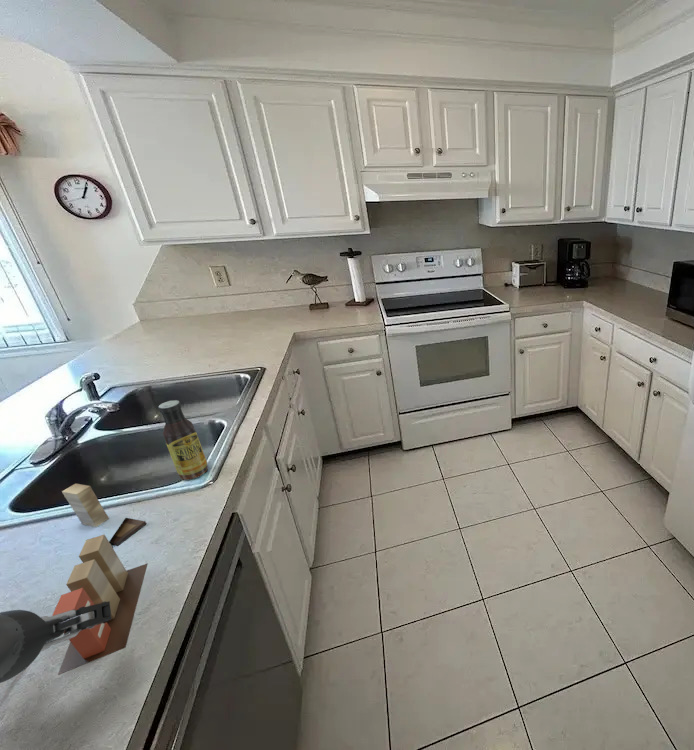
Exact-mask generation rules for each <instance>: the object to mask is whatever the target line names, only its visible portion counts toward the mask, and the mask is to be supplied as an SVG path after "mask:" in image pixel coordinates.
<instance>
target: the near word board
mask: <svg viewBox="0 0 694 750" xmlns="http://www.w3.org/2000/svg"><path fill="white" fill-rule="evenodd" d="M109 541H110V540H109V539H108V538H107V536H106V535H105V534H101V535H98V536H95V537H91V538H89V539H86V540H85V542H84V544H83V546H82V548H81V551H80V553H79V555H78V558H79V560H80V561H81V563H79V564H78V563H77V564H75V565H73V568H72V571H71V572H70V575H69V577H68V579H67V581H66V584H65V585H66V586H67V588H68V589H69V592H72V591H75V590H78V589H81V588H83V589H84V590H85V592H86V593H87V595H88V596H89V597H90V599H91V600H92V602H93V603H94V605H95V604H100V603H102V602H105V601H106V602H108V601H110V609H111V618H112V619H111V620H109V621H108V622H107V623H108V625H109V626H110V628H111V631H110V634H109V638H108V641H107V644H106V647H105V651H102V652H100V653H98V654H95V655H93V656H90V657H88V658H85V659H83V657H82V656H81V655H80V653H79V652H78V651H77V650H76V648H75V647H74V646H73V644H72V643H71V642H70V641H69V644H68V646H67V647H68V648H67V649H66V652H65V655H64V657H63V660H62V662H61V665H60V667H59V670H58V673H57V676H60V675H62V674H64V673H67V672H69V671H72V670H74V669H76V668H79V667H82V666H84V665H86V664H89V663H91V662H94V661H96V660H100V659H102V658H104V657H106V656H109V655H111V654H114V653H116V652H118V651H121V650H123V649H126V648H127V644H128V641H129V636H130V632H131V629H132V625H133V621H134V617H135V613H136V610H137V606H138V602H139V599H140V594H141V591H142V586H143V582H144V580H145V576H146V571H147V568H148V563H145V564H142V565H138V566H135V567H133V568H130V569H126V567H125V566H124V564H123V563H122V560H121V559H120V557H119V556H118V554H117V552H116V551H115V549H114V548H113V545H112V544H110V543H109Z"/></svg>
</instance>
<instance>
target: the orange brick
mask: <svg viewBox="0 0 694 750" xmlns="http://www.w3.org/2000/svg"><path fill="white" fill-rule="evenodd" d="M91 605H94V603H93V602H92V600H91V599H90V597H89V596H88V595H87V593H86V592H85V590H84V589H83V588H81V589H78V590H75V591H72V592H71V591H69V592H66V593H63V594H61V595H60V597H59V599H58V602H57V604H56V606H55V609H54V610H53V612H52V615H51V616H54V615H57V614H60V613H64V612H67V611H70V610H78V609H79V608H81V607H84V606H85V607H87V606H91ZM110 631H111V628H110V626H109V625H108V623H107V622H106V623H102V624H99V625H96V626H94V628H91V629H89V628H88V629H85V630H82V631H79V633H78V635H77V636H75V637H73V638H71V639H68V641H69V643H70V642H71V643H72V644H73V646H74V647H75V648H76V650H77V651H78V652H79V653H80V655H81V656H82V657H83V659H85V658H88V657H90V656H93V655H95V654H98V653H100V652H102V651H105V647H106V644H107V641H108V638H109V634H110Z"/></svg>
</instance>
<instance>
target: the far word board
mask: <svg viewBox="0 0 694 750" xmlns="http://www.w3.org/2000/svg"><path fill="white" fill-rule="evenodd" d="M61 493H62V495H63V496H64V498H65V499H66V501H67V502H68V504H69V506H70V507H71V510H73V513H74V514H75V515H76V517H77V519H78V520H79V521H80V524H81V525H84V526H88V527H92V528H93V527H94V528H98V527H99V526H100V525H102V524H103V523H105V522H107V521H108V520H110V517H109V516H108V514H107V512H106V511H105V509H104V508H103V506H102V504H101V502H100V501H99V499H98V497H97V495H96V494H95V492H94V490H93V488H92V486H91V485H87V484H80V483H74V484H72V485H70V486H69V487H67V488H65V489H64V490H61ZM146 525H147V522H146V521H145V520H141V519H135V518H130V517H125V518H124V519H123V520H122V522H121V524H120V525H119V527H117V529H116V531H115V532H114V534H113V535H112V537H111V538H110V540H108V541H109V543H110V544H111V546H117V547H118V546H120V545H121V544H122V543H124V542H126V540H128V539H129V538H130V537H132V536H133V535H134V534H136V532H138V531H139V530H141V529H142V528H143V527H145V526H146Z"/></svg>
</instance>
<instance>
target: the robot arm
mask: <svg viewBox="0 0 694 750" xmlns="http://www.w3.org/2000/svg"><path fill="white" fill-rule="evenodd" d="M111 619H112V618H111V609H110V601H108V602H106V601H105V602H102V603H100V604H95V605H91V606H87V607H85V606H84V607H81V608H79V609H78V610H70V611H67V612H64V613H60V614H57V615H54V616H52V615H50V616H48V615H44V616H39V615H38V614H36V613H35V612H33V611H29V610H25V609H13V610H12V609H11V610H6V611H0V684H1V683H5V682H7V681H9V680H11V679H13V678H15V677H16V676H17V675H19V674H21V673H22V672H24V671H25V670H26V669H27V668H28V667H29V666H31V665H32V663H34V662H35V660H36V659H37V658H38V656H39V655H40V653H41V652H43V651H45V650H48V649H50V648H51V647H52V646H54V645H57V644H59V643H63V642H65V641H69V639H71V638H73V637H75V636H77V635H78V633H79V631H82V630H85V629H88V628H89V629H91V628H94V626H96V625H99V624H102V623H106V622H108V621H109V620H111Z"/></svg>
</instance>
